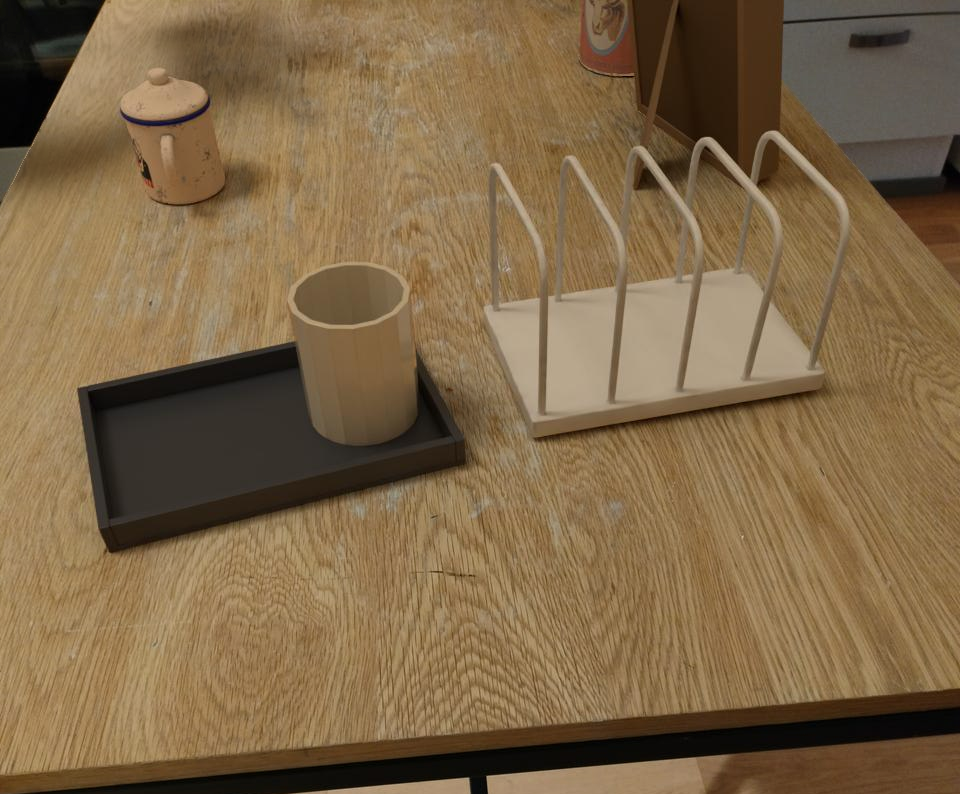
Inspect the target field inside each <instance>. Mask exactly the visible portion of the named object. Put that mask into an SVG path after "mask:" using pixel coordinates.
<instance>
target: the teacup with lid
mask: <svg viewBox="0 0 960 794" xmlns="http://www.w3.org/2000/svg"><path fill="white" fill-rule="evenodd" d="M146 75H147V79H146V80H144V81H143V82H142V83H141V84H139V85H138V86H135V87H134V88H132V89H130V90H128V91H127V92H125V94H124V95H123V96H122V97H121V100H120V103H119V112H120V115H121V116H122V118H123V119H124V121H125V124H126V129H127V132H128V136H129V138H130V142H131V146H132V148H133V152H134V155H135V158H136V162H137V165H138V166H137V167H138V168H139V172H140V175H141V180H142V183H143V186H144V190H145V192H146V194H147V195H148V196H149V197H150V198H151V199H153V200H154V201H156V202H160V203H163V204H167V203H168V205H189V204H194V203H197V202H202V201H205V200H207V199H209V198H212V197H213V196H215V195H217V194H218V193H219V192H220V191H221V190H222V189H223V187H224V186H225V183H226V176H225V171H224V168H223V167H224V166H223V162H222V158H221V157H222V156H221V153H220V149H219V144H218V140H217V135H216V130H215V126H214V121H213V117H212V112H211V108H210V105H211V98H210V95H209V94H208V93H207V91H206V89H205V88H203V87H202V86H201V85H200V84H198V83H196V82H192V81H189V80H183V79H179V78H176V77H173V76H169V73H168V71H167V70H166V69H165V68H163V67H154V68H151V69H149V70H148V71H147V73H146Z"/></svg>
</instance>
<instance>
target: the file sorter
mask: <svg viewBox="0 0 960 794" xmlns="http://www.w3.org/2000/svg"><path fill="white" fill-rule="evenodd" d="M770 139H771V140H773V141H774V142H775V143H776V144H777V145H778V146H779V149H781V151H783V152H784V153H785V154H786V155H787V156H788V157H789V159H791V160H792V162H794V163H795V165H796V166H798V167H799V168H800V169H801V171H802V172H803V173H804V174H805V175H806V176H807V177H808V178H809V179H810V180H811V181H812V182H813V183H814V184H815V185H816V186H817V187H818V188H819V189H820V190H821V191H822V192H823V193H824V194H825V195H826V196H827V198H829V200H830V201H832V203H833V205H834V206H835V209H836V210H837V213H838V216H839V221H840V222H839V223H840V234H839V235H840V236H839V242H838V247H837V250H836V253H835V259H834V263H833V266H832V269H831V273H830V277H829V282H828V286H827V289H826V292H825V296H824V300H823V304H822V308H821V310H820V311H821V312H820V315H819V319H818V323H817V327H816V329H815V334H814V337H813V342H812V345H811V349H809V348H808V347H807V346H806V344H805V343H804V341H802V339H801V338H800V337H799V336H798V335H797V333H796V332H795V331H794V329H793V328H792V326H791V325H790V324H789V323H788V322H787V320H786V319H785V317H784V316H783V315H782V314H781V312H779V310H778V309H777V307H776V306H775V305H774V303H773V302H772V301H771V300H772V296H773V294H774V289H775V285H776V281H777V277H778V274H779V269H780V265H781V263H782V257H783V250H784V249H783V248H784V234H783V233H784V232H783V226H782V222H781V219H780V216H779V214H778V212H777V209H775V207H774V206H773V204H772V203H771V201H770V200H769V199H768V198H767V197H766V196H765V195H764V194H763V192H761V190H760V189H759V188H758V183H759V181H758V176H759V171H760V166H761V161H762V156H763V152H764V148H765V146H766V143H767V142H768V141H769V140H770ZM705 146H707V147H708V148H709V149H710V150H711V151H712V152H713V153H714V154H715V156H716V157H717V158H718V159H719V160H720V161H721V162H722V163H723V165H724V166H725V167H726V168H727V169H728V171H729V172H731V174H732V175H733V176H734V177H735V178H736V180H737V181H738V182H739V183H740V184H741V186H742V187H743V188H742V187H741V186H740V187H741V188H742V189H744V190H745V191H746V193H747V195H746V200H745V201H746V202H745V206H744V211H743V216H742V222H741V228H740V233H739V239H738V244H737V250H736V255H735V260H734V266H733V267H729V268H724V269H723V268H722V269H716V270H710V271H705V272H704V268H705V267H704V266H705V250H704V241H703V235H702V231H701V228H700V226H699V223H698V221H697V219H696V217H695V215H694V214H693V213H692V210H693V203H694V196H695V189H696V185H697V184H696V182H697V176H698V169H699V162H700V159H701V157H700V155H701V152H702V149H703V148H704V147H705ZM638 155H639V156H640V158H641V159H642V160H643V161H644V165H645V166H646V167H647V169H648V170H649V171H650V173H651V175H653V177H654V179H655V180H656V181H657V182H658V184H659V185H660V187H661V189H662V190H663V191H664V193H665V194H666V195H667V197H668V199H669V200H670V201H671V203H672V204H673V206H674V207H675V209H676V210H677V212H678V213H679V215H680V216H681V217H682V222H681V230H680V237H679V243H678V253H677V258H676V269H675V275H674V276H672V277H667V278H666V277H665V278H660V279H659V278H658V279H651V280H647V281H639V282H634V283H628V256H627V252H626V251H627V243H628V232H629V221H630V211H631V201H632V194H633V182H634V170H635V165H636V161H637V156H638ZM570 167H571V169H572V170H573V172H574V174H575V175H576V177H577V179H578V181H579V182H580V184H581V186H582V188H583V190H584V191H585V193H586V194H587V196H588V197H589V199H590V201H591V202H592V205H593V207H594V208H595V210H596V211H597V213H598V214H599V217H600V218H601V219H602V221H603V223H604V225H605V226H606V228H607V230H608V231H609V233H610V235H611V237H612V238H613V241H614V244H615V248H616V254H617V261H616V274H615V285H614V286H607V287H600V288H595V289H588V290H587V289H586V290H581V291H575V292H567V293H562V291H563V273H564V271H563V269H564V253H565V229H566V228H565V227H566V226H565V225H566V213H567V194H568V177H569V170H570ZM487 174H488V175H487V193H488V194H487V195H488V196H487V198H488V219H489V220H488V221H489V222H488V223H489V224H488V225H489V227H488V228H489V255H490V257H489V258H490V280H491V281H490V282H491V283H490V284H491V304H487V305H484V306H483V308H482V309H483V312H482V323H483V325H484V328H485V330H486V332H487V335H488V337H489V340H490V342H491V344H492V346H493V349H494V351H495V354H496V356H497V358H498V360H499V363H500V365H501V367H502V370H503V372H504V375H505V377H506V379H507V382H508V384H509V387H510V389H511V391H512V394H513V396H514V398H515V401H516V403H517V406H518V408H519V410H520V412H521V416H522V418H523V420H524V422H525V424H526V427H527V430H528V432H529V434H530V436H531V437H532V438H541V437H546V436H553V435H557V434H563V433H569V432H576V431H581V430H582V431H583V430H587V429H593V428H597V427H598V428H599V427H604V426H609V425H610V426H611V425H614V424H615V425H616V424H621V423H628V422H633V421H639V420H645V419H651V418H657V417H662V416H663V417H664V416H670V415H673V414H680V413H685V412H691V411H698V410H703V409H709V408H715V407H720V406H721V407H722V406H727V405H733V404H738V403H743V402H744V403H745V402H751V401H757V400H762V399H763V400H764V399H768V398H773V397H774V398H775V397H780V396H785V395H792V394H797V393H805V392H811V391H816V390H820V389H822V387H823V382H824V380H825V376H826V370H825V369H824V368H823V367H822V365H821V364H820V362H819V361H818V358H819V354H820V351H821V346H822V343H823V340H824V336H825V333H826V329H827V326H828V322H829V318H830V315H831V311H832V308H833V303H834V301H835V296H836V293H837V288H838V285H839V282H840V278H841V274H842V271H843V267H844V263H845V260H846V256H847V253H848V248H849V243H850V236H851V216H850V211H849V207H848V204H847V203H846V200H845V198H844V197H843V195H842V194H841V193H840V192H839V191H838V190H837V189H836V188H835V187H834V186H833V185H832V184H831V182H829V180H828V179H827V178H825V176H823V175H822V173H820V171H818V169H816V167H815V166H814V165H813V164H812V163H811V162H810V161H809V160H808V159H807V158H806V156H804V155H803V154H802V153H801V152H800V151H799V150H798V149H797V148H796V147H794V145H793V144H792V143H790V142H789V140H788V139H787V138H786V137H784V136H783V134H781V132H780V133H779V132H778V131H768V132H766V133H764V134H763V135H762V136H761V138H760V140H759V142H758V145H757V148H756V152H755V157H754V162H753V167H752V173H751V178H750V179H749V178H748V177H747V176H746V174H745V173H744V172H743V171H742V170H741V169H740V168H739V166H738V165H737V164H736V163H735V162H734V161H733V160H732V159H731V157H730V156H729V155H728V154H727V153H726V152H725V151H724V150H723V148H722V147H721V146H720V145H719V144H718V143H717V142H716V141H715V140H714V139H713V138H711V137H705V138H701V139H700V140H699V141H698V142H697V143H696V145H695V147H694V150H693V151H692V154H691V158H690V165H689V170H688V178H687V185H686V193H685V200H683V199H682V197H681V196H680V194H679V193H678V191H677V190H676V189H675V187H674V185H673V184H672V183H671V182H670V180H669V179H668V177H667V176H666V175H665V173H664V172H663V170H662V169H661V168H660V166H659V165H658V163H657V162H656V161H655V158H653V156H652V155H651V154H650V152H649V151H648V150H646V148H644V147H643V146H640V145H636V146H634V147H632V148H631V150H630V151H629V153H628V156H627V161H626V167H625V176H624V184H623V195H622V196H623V197H622V208H621V217H620V227H619V226H618V224H617V223H616V221H615V219H614V218H613V216H612V214H611V213H610V211H609V210H608V207H607V206H606V204H605V203H604V200H603V199H602V197H601V196H600V194H599V193H598V191H597V189H596V188H595V186H594V185H593V183H592V181H591V179H590V178H589V177H588V175H587V173H586V171H585V169H584V168H583V166H582V165H581V163H580V161H579V159H578V158H577V157H576V156H575V155H572V154H571V155H566V156H565V157H564V158H563V160H562V162H561V165H560V171H559V185H558V205H557V206H558V207H557V208H558V209H557V232H556V250H555V251H556V252H555V276H554V295H549V271H548V270H549V269H548V264H547V263H548V262H547V257H546V252H545V248H544V245H543V241H542V238H541V236H540V233H538V230H537V228H536V226H535V225H534V222H533V221H532V219H531V217H530V215H529V213H528V211H527V210H526V208H525V206H524V204H523V203H522V200H521V198H520V197H519V195H518V193H517V191H516V189H515V188H514V186H513V184H512V182H511V180H510V178H509V177H508V175H507V173H506V171H505V169H504V167H503V166H502V165H501V163H499V162H495V163H491V164H490V166H489V168H488V173H487ZM497 178H498V180H499V182H500V183H501V186H502V187H503V189H504V191H505V193H506V195H507V197H508V199H509V200H510V202H511V204H512V206H513V208H514V210H515V211H516V214H517V216H518V217H519V219H520V220H521V223H522V226H523V227H524V228H525V230H526V232H527V235H528V236H529V238H530V240H531V242H532V245H533V247H534V252H535V257H536V261H537V267H538V274H539V275H538V276H539V277H538V279H539V297H535V298H534V297H533V298H527V299H521V300H520V299H519V300H514V301H508V302H501V303H500V299H499V298H500V285H499V283H500V280H499V279H500V278H499V252H498V251H499V250H498V213H497V208H498V207H497ZM754 203H756V204H757V206H759V207H760V208H761V210H762V211H763V213H764V214H765V215H766V217H767V218H768V220H769V224H770V226H771V228H772V234H773V248H772V255H771V261H770V264H769V265H770V266H769V268H768V269H769V270H768V272H767V277H766V282H765V286H764V290H763V289H762V288H761V287H760V285H759V284H758V283H757V281H755V279H754V278H753V277H752V275H751V274H750V273H749V272H748V270H747V269H746V268H745V267H744V266H743V261H744V257H745V256H744V255H745V252H746V251H745V250H746V244H747V239H748V233H749V228H750V223H751V219H752V212H753V207H754ZM689 232H690V233H691V236H692V240H693V246H694V267H693V272H692V273H691V274H684V275H683V273H684V266H685V260H686V253H687V246H688V239H689V238H688V237H689Z"/></svg>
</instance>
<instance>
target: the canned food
mask: <svg viewBox="0 0 960 794" xmlns="http://www.w3.org/2000/svg"><path fill="white" fill-rule="evenodd" d="M580 21H581V23H580V38H579V39H580V40H579V41H580V42H579V54H580V56H579V55H578V58H579V57H580V60H581V62H582V63H583V64H584V65H586V66H587V67H589V68H591V69H595V70H597V71H602V72H606V73H617V74H630V73H634V68H633V57H632V47H631V36H630V25H629V14H628V3H627V0H582V3H581V20H580Z"/></svg>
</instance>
